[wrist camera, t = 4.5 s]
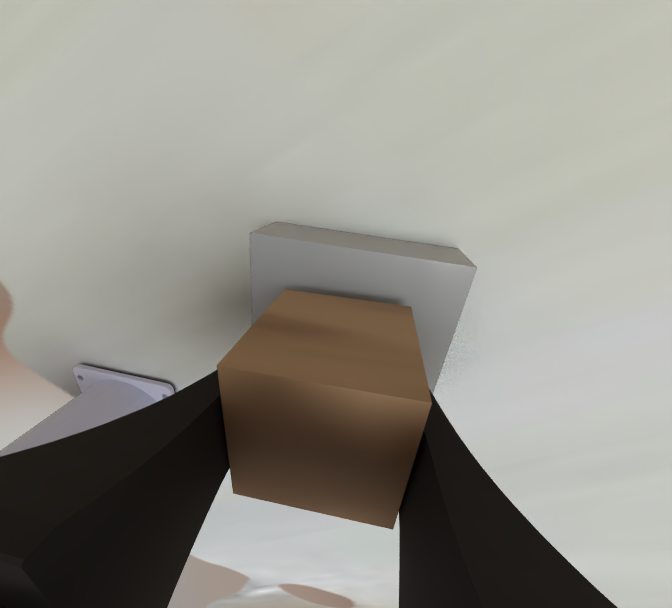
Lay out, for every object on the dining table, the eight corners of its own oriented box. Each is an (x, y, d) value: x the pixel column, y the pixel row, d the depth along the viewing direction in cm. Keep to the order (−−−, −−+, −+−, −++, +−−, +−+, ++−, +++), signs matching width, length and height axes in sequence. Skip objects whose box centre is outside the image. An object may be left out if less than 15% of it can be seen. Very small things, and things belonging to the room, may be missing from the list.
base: (413, 392, 17) (418, 433, 14) (273, 363, 18) (253, 397, 15) (458, 248, 13) (477, 267, 10) (276, 222, 14) (249, 232, 11)
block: (389, 404, 13) (393, 529, 8) (284, 385, 13) (233, 493, 9) (411, 306, 10) (432, 403, 6) (284, 289, 11) (216, 365, 7)
